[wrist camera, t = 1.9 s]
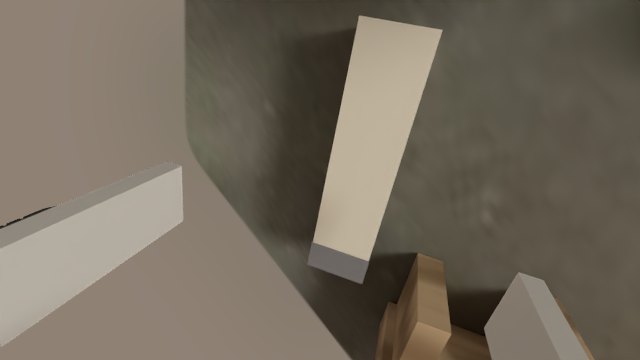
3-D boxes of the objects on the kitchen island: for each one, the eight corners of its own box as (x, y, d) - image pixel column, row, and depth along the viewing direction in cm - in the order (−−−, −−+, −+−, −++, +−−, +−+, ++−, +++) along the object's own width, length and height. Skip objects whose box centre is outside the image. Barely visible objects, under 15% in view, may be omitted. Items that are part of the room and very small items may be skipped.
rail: (372, 24, 19) (357, 14, 14) (437, 36, 18) (443, 30, 13) (326, 228, 26) (307, 264, 21) (372, 243, 25) (362, 284, 20)
